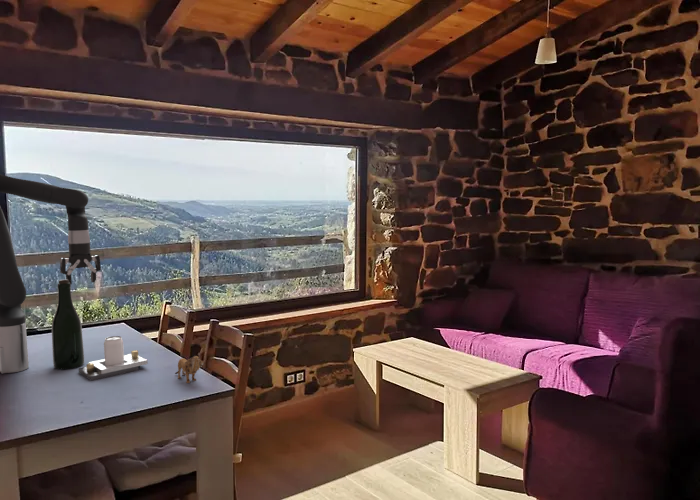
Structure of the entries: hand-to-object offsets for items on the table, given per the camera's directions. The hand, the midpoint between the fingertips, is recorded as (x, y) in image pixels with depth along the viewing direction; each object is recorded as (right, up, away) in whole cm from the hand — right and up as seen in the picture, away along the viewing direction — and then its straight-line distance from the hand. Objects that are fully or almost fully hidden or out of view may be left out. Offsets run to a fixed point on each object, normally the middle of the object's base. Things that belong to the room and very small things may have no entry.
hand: (81, 283), depth 214 cm
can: (+19, -31, -13) cm, 39 cm away
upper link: (+20, -29, -12) cm, 38 cm away
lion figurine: (+49, -32, -25) cm, 64 cm away
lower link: (+17, -31, -15) cm, 38 cm away
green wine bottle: (-1, -31, -7) cm, 32 cm away
